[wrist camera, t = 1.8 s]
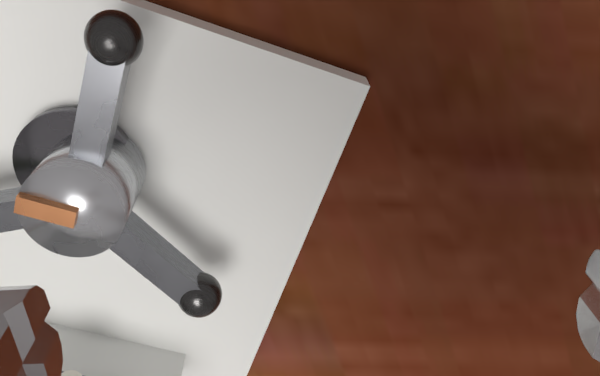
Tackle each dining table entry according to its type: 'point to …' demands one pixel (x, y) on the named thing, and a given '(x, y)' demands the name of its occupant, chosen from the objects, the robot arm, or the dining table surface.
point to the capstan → (98, 176)
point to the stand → (179, 180)
